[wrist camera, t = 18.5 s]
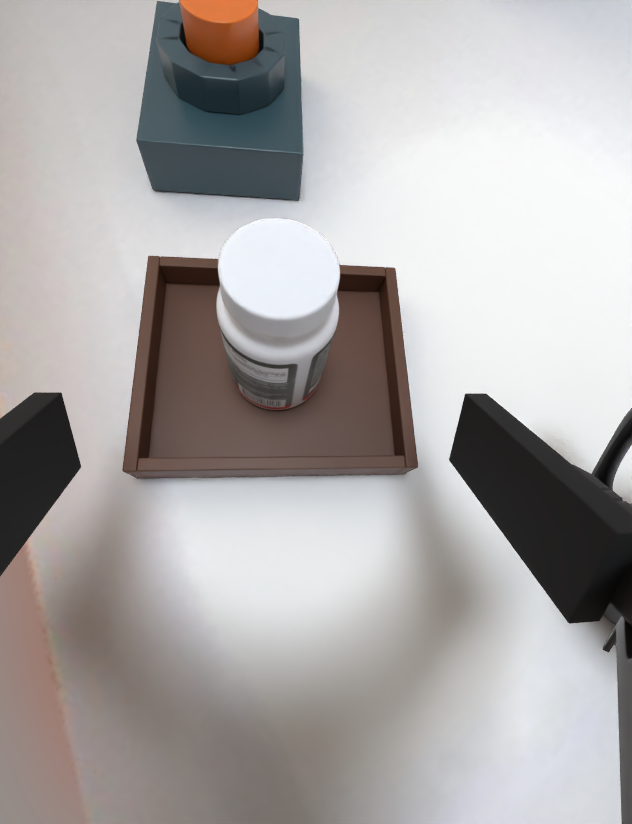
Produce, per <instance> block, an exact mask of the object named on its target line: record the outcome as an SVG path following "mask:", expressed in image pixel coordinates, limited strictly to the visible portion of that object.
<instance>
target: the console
mask: <svg viewBox="0 0 632 824" xmlns="http://www.w3.org/2000/svg"><path fill="white" fill-rule="evenodd" d="M258 23H259V51H258V54H257V55H256V56H255V57H254V59H252V60H248V61H245V62H241V63H237V64H234V65H225V64H216V63H209V62H207V61H205V60H203V59H201V58H199V57H197V56H195V55H193V54H191V53H190V51H189V49H188V47H187V44H186V38H185V32H184V26H183V20H182V14H181V8H180V2H178V3H169V2H161V1H157V5H156V12H155V19H154V25H153V32H152V39H151V45H150V52H149V59H148V66H147V72H146V79H145V86H144V92H143V99H142V106H141V113H140V119H139V126H138V133H137V140H136V141H137V144H138V147H139V150H140V153H141V156H142V159H143V162H144V165H145V168H146V171H147V174H148V177H149V180H150V183H151V186H152V189H153V190H158V191H173V192H187V193H202V194H217V195H232V196H247V197H261V198H276V199H291V200H299V196H300V185H301V173H302V162H303V133H302V101H301V69H300V36H299V19H298V18H291V17H283V16H274V15H270V14H269V13H267V12H265V11H263V10H261V9H259V8H258Z"/></svg>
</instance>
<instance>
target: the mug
mask: <svg viewBox="0 0 632 824" xmlns="http://www.w3.org/2000/svg"><path fill="white" fill-rule="evenodd" d="M631 445H632V408H631V409H630V411H629V412H628V413H627V414H626V416H625V417H624V419H623V420H622V422H621V423H620V425H619V426H618V428H617V430H616V431H615V433H614V435H613V437H612V438H611V440H610V442H609V444H608V445H607V447H606V449H605V451H604V452H603V454H602V456H601V458H600V459H599V461H598V463H597V465H596V467H595V468H594V470H593V472H592V475H594V476H595V477H596V478H597V479H599V480H600V481H601V482H602V483H604V484H605V485H606V486H607V487H608V488H609V490H610V491H613V490H612V487H613V480H614V477H615V474H616V471H617V469H618V467H619V465H620V463H621V461H622V459H623V457H624V456H625V454H626V452H627V451H628V449H629V448H630V446H631ZM630 505H631V506H632V504H630ZM603 615H604V616H605V617H606V618H607V619H608V620H610V621H611V622H612V623H614V624H617V623H618V621H619V619H620V618H621V616H622V615H621V614H620V613H619V612H618V611H617V610H616V609H615V607H614V606H613V605H612V604H611V603H610V604H609V605H608V607H607V609H606V610H605V612H604V614H603Z"/></svg>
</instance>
